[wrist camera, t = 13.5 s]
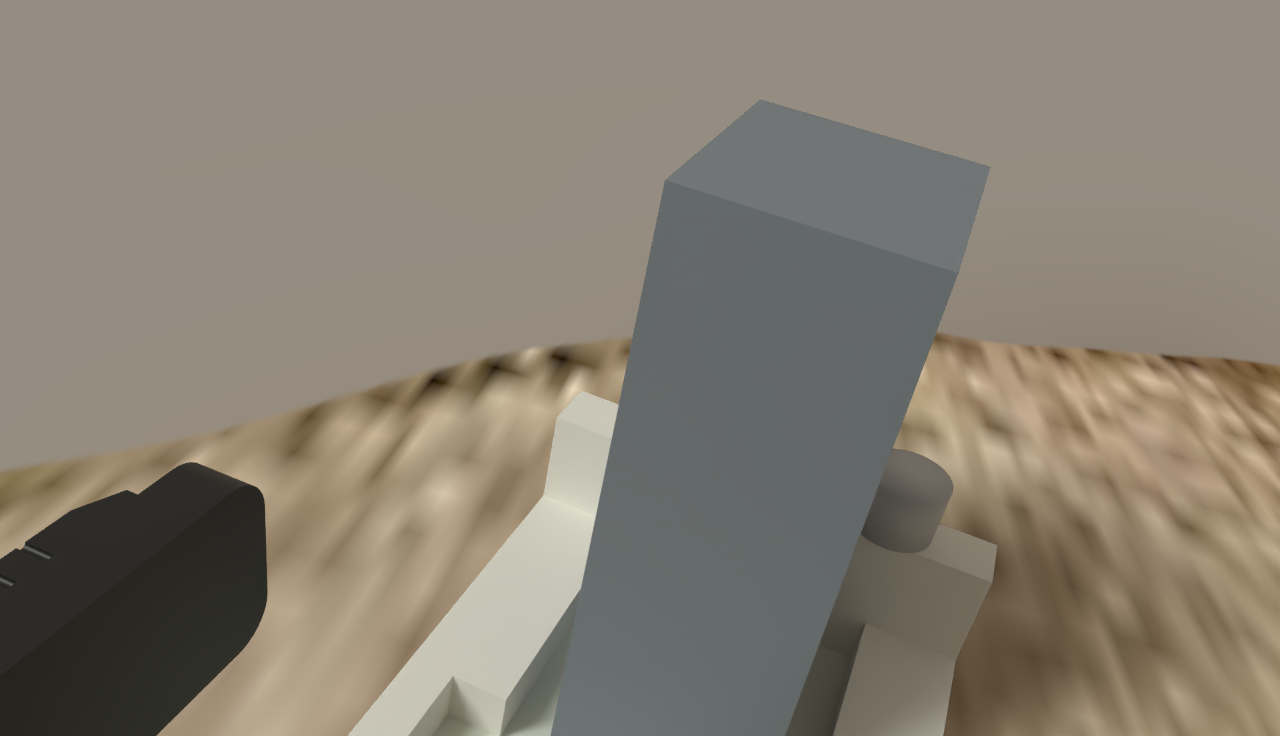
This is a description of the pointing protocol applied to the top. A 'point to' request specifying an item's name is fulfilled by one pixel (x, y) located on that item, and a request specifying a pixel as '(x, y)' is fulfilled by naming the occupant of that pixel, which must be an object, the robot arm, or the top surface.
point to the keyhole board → (551, 582)
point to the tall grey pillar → (757, 418)
